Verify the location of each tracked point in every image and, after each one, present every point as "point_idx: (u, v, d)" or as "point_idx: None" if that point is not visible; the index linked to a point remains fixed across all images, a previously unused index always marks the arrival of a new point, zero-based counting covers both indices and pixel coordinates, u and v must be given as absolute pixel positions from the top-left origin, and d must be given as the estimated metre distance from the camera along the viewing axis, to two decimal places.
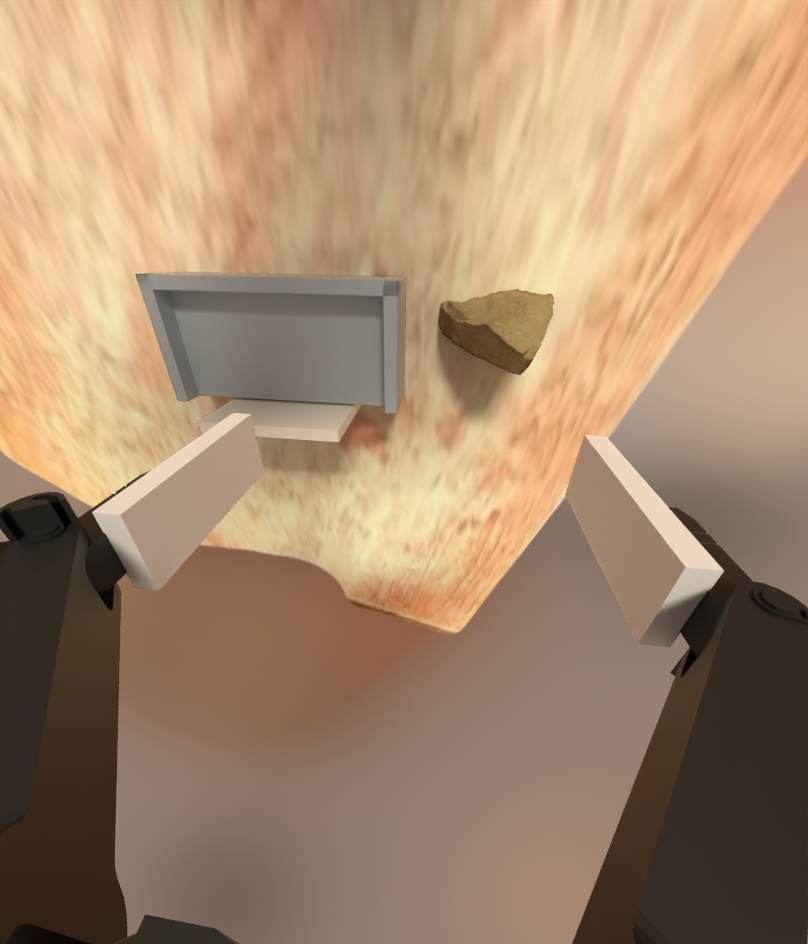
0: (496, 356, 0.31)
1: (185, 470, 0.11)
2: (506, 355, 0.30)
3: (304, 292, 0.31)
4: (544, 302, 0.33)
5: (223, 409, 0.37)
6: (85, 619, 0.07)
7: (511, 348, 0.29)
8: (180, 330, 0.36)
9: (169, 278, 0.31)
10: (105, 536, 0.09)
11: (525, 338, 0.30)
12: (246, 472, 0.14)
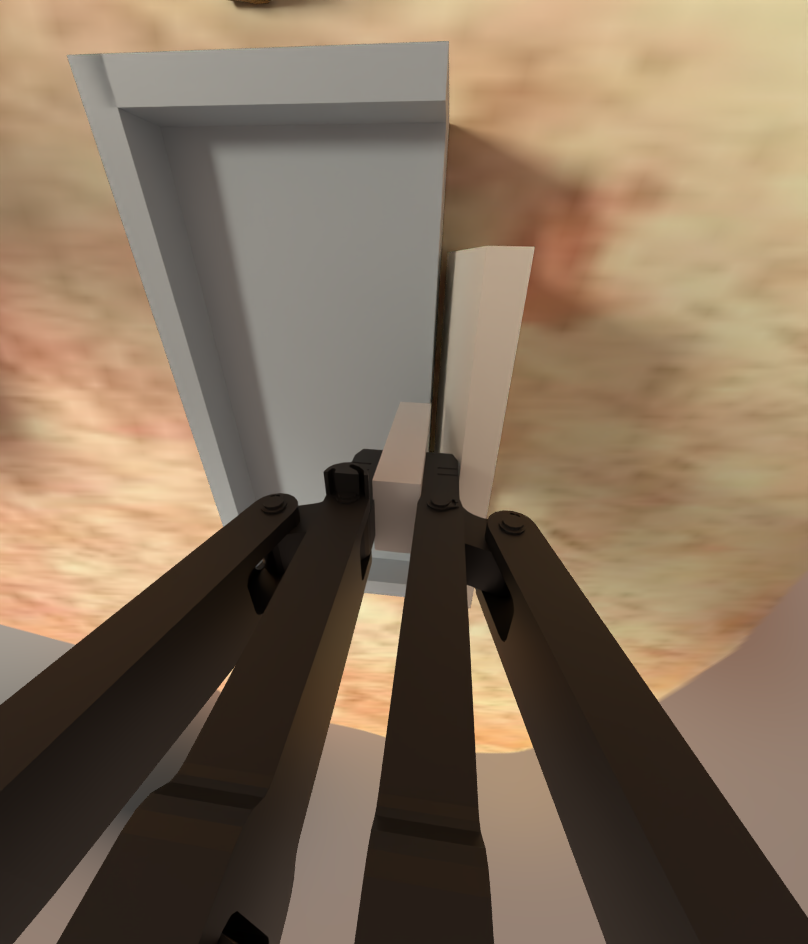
0: None
1: None
2: None
3: (182, 334, 0.15)
4: None
5: None
6: (348, 589, 0.08)
7: None
8: None
9: None
10: (374, 502, 0.10)
11: None
12: None
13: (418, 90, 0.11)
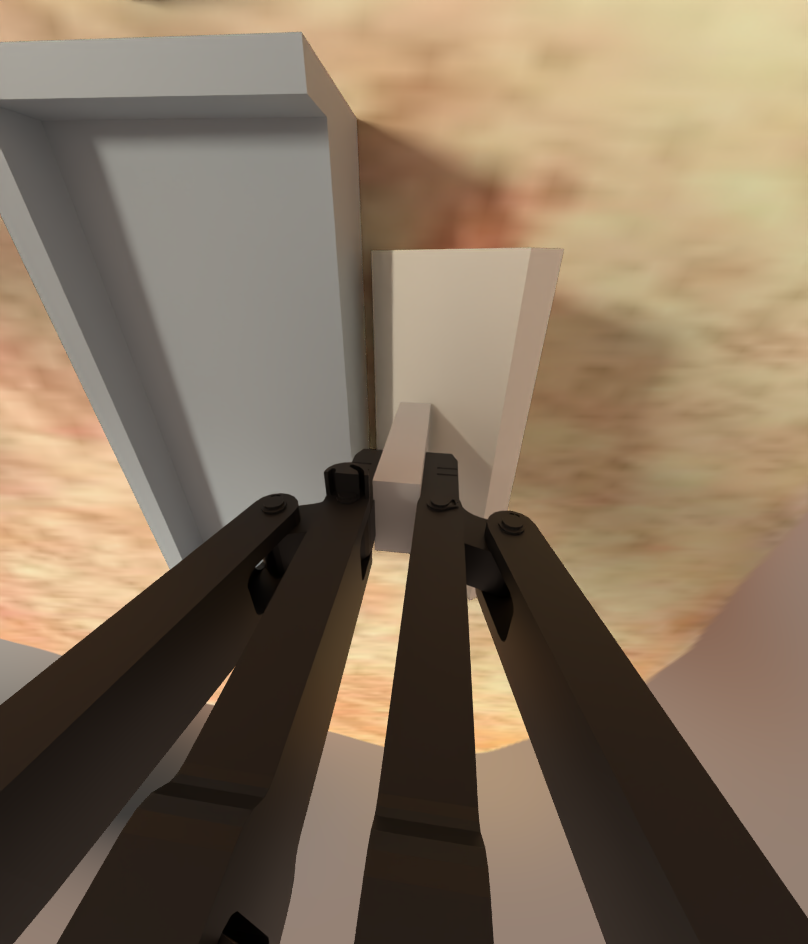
0: None
1: None
2: None
3: (80, 333, 0.15)
4: None
5: None
6: (348, 589, 0.08)
7: None
8: None
9: (163, 547, 0.21)
10: (374, 502, 0.10)
11: None
12: None
13: (278, 83, 0.10)
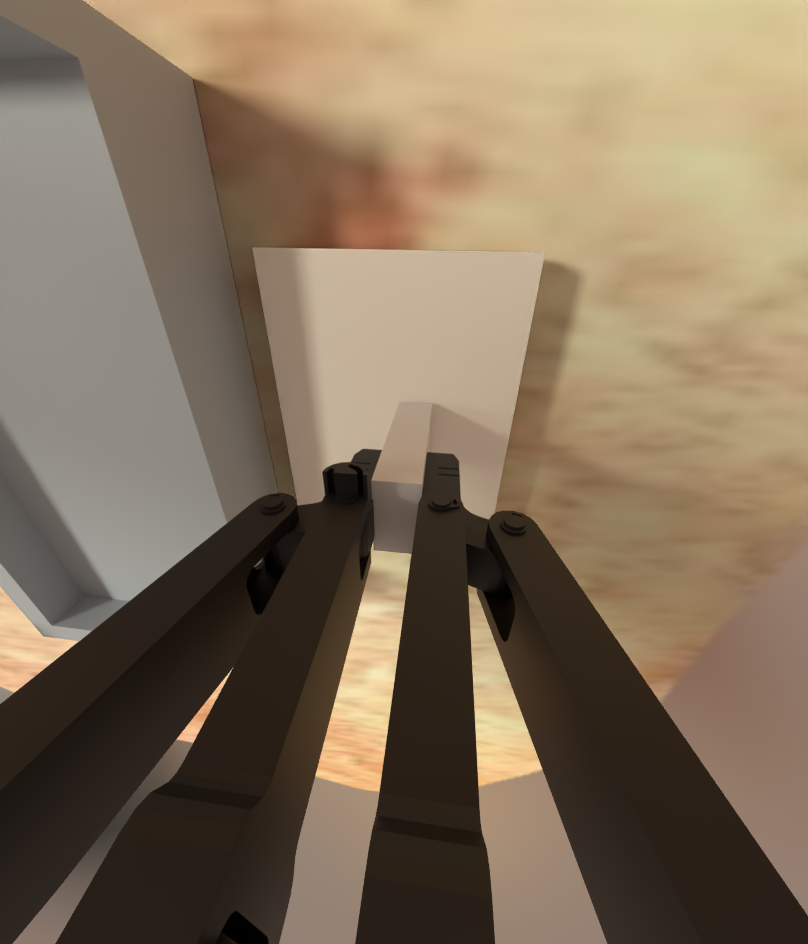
0: None
1: None
2: None
3: None
4: None
5: None
6: (347, 589, 0.08)
7: None
8: None
9: (15, 599, 0.18)
10: (373, 502, 0.10)
11: None
12: None
13: None
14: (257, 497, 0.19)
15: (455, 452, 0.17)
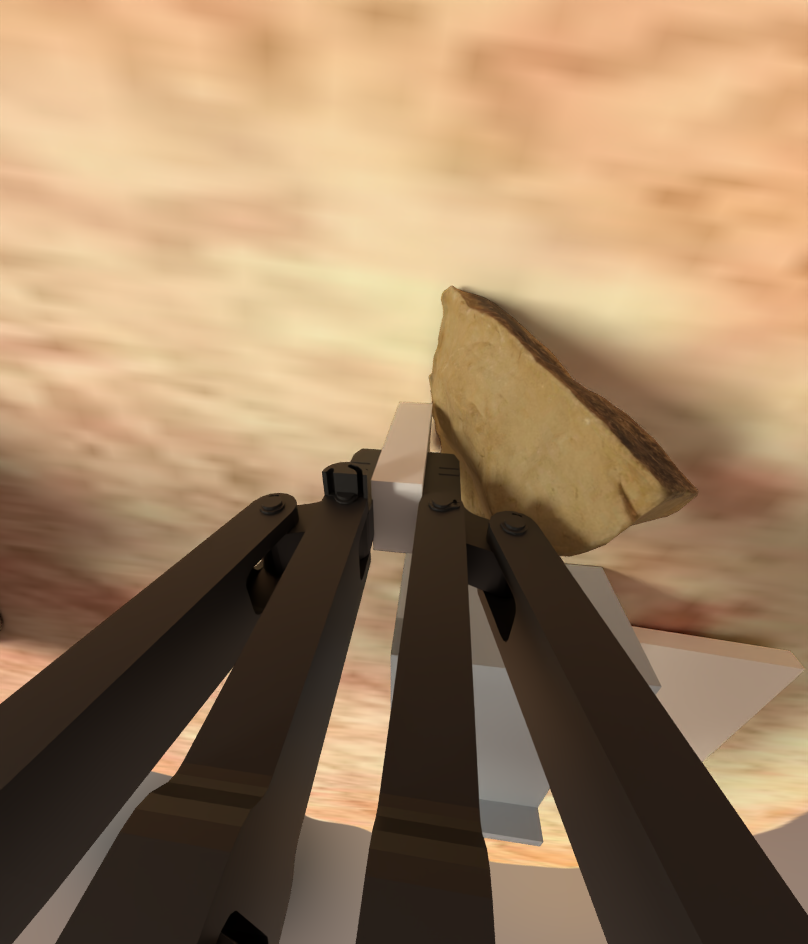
0: None
1: None
2: None
3: None
4: (460, 329, 0.13)
5: None
6: (347, 589, 0.08)
7: (597, 547, 0.09)
8: None
9: None
10: (373, 502, 0.10)
11: (565, 471, 0.09)
12: None
13: None
14: None
15: (701, 724, 0.26)
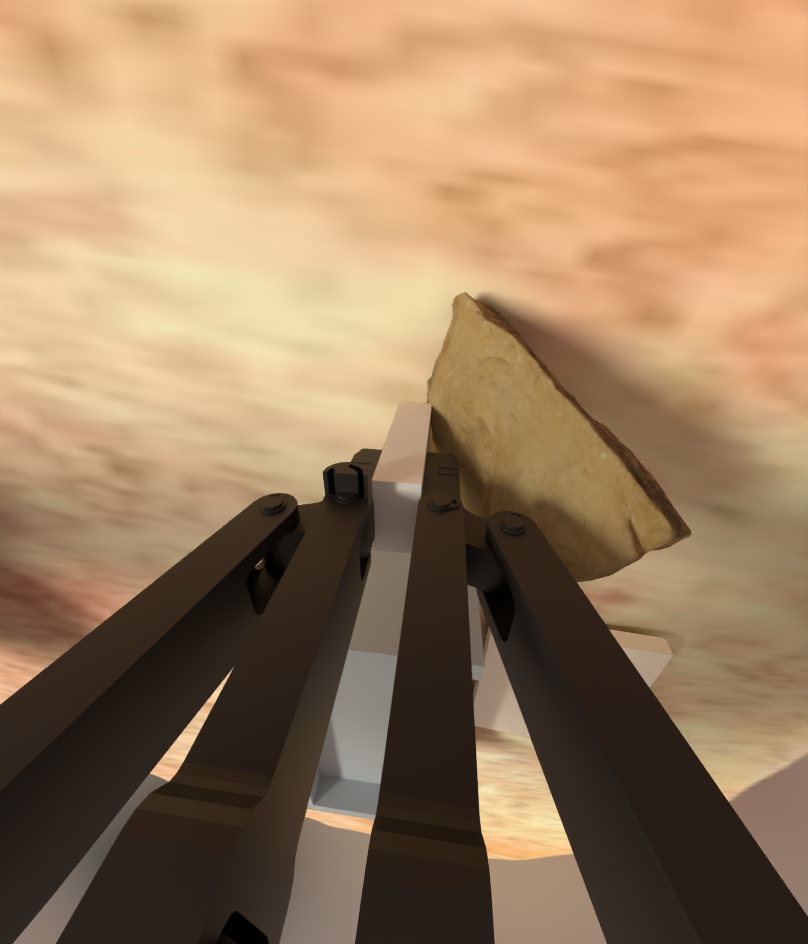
0: None
1: None
2: None
3: None
4: (472, 339, 0.13)
5: None
6: (347, 589, 0.08)
7: (600, 577, 0.09)
8: (364, 781, 0.30)
9: None
10: (373, 502, 0.10)
11: (575, 500, 0.09)
12: None
13: None
14: None
15: None
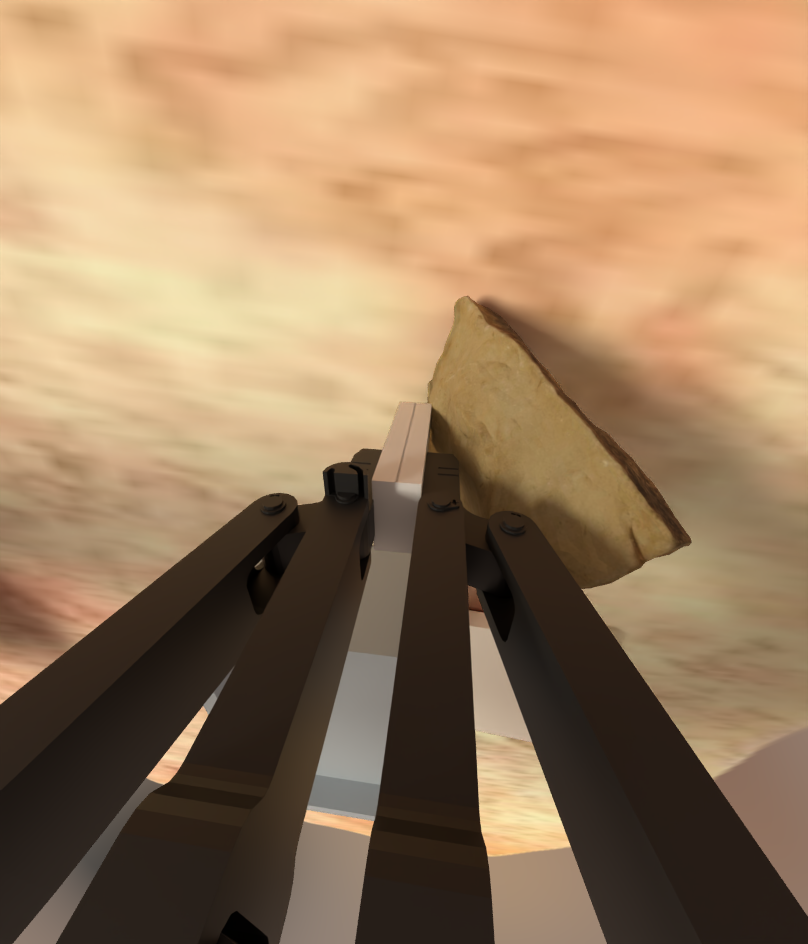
0: None
1: None
2: None
3: None
4: (474, 343, 0.13)
5: (515, 734, 0.29)
6: (347, 589, 0.08)
7: (600, 584, 0.09)
8: (321, 775, 0.30)
9: None
10: (373, 502, 0.10)
11: (576, 507, 0.09)
12: None
13: (383, 667, 0.17)
14: None
15: None
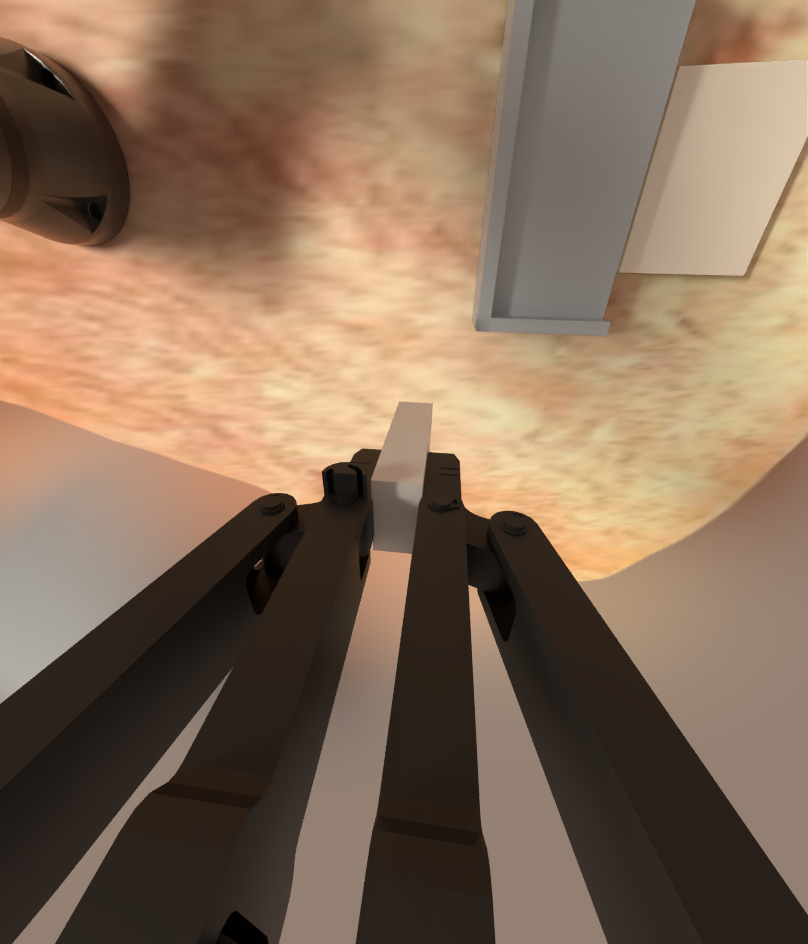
0: None
1: None
2: None
3: (519, 99, 0.25)
4: None
5: (707, 265, 0.33)
6: (347, 589, 0.08)
7: None
8: (529, 315, 0.34)
9: (483, 293, 0.32)
10: (372, 502, 0.10)
11: None
12: None
13: None
14: None
15: (749, 196, 0.30)
